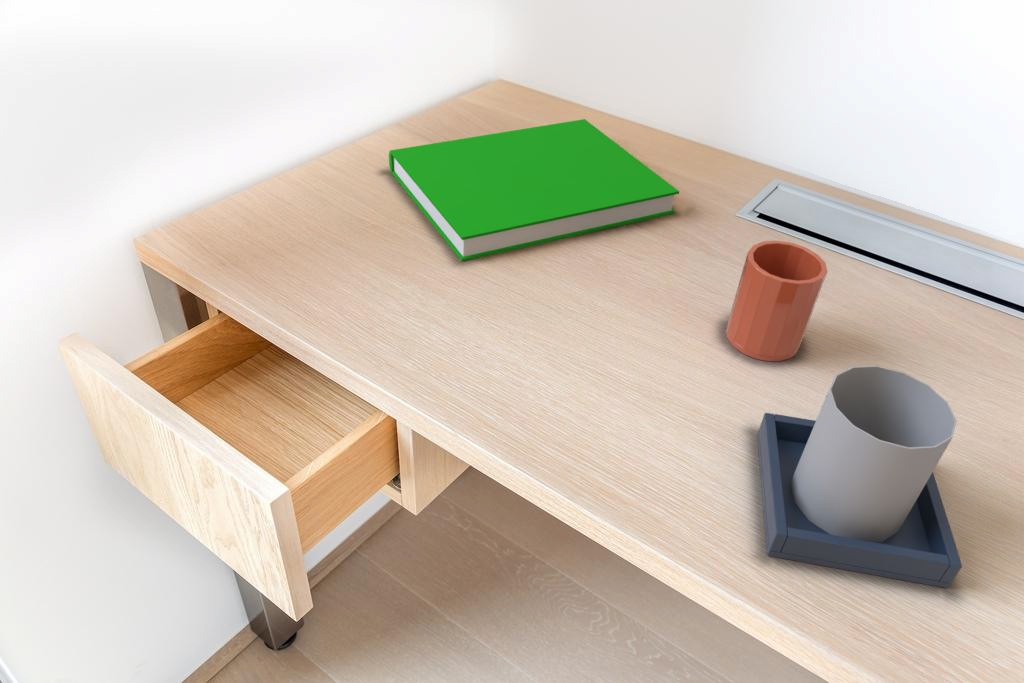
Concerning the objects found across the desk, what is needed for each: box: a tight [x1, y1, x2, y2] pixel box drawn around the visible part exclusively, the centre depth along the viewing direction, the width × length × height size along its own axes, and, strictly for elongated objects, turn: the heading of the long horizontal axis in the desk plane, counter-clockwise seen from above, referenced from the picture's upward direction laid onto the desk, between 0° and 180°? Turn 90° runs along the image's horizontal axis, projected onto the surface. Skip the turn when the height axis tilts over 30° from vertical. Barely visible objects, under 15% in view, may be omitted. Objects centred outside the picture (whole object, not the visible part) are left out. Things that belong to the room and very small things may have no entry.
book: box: [388, 118, 680, 262], centre depth 97 cm, size 22×28×3 cm
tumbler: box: [725, 240, 828, 362], centre depth 75 cm, size 7×7×9 cm
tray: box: [756, 412, 963, 589], centre depth 61 cm, size 13×13×3 cm
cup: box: [790, 365, 957, 542], centre depth 58 cm, size 8×8×10 cm
